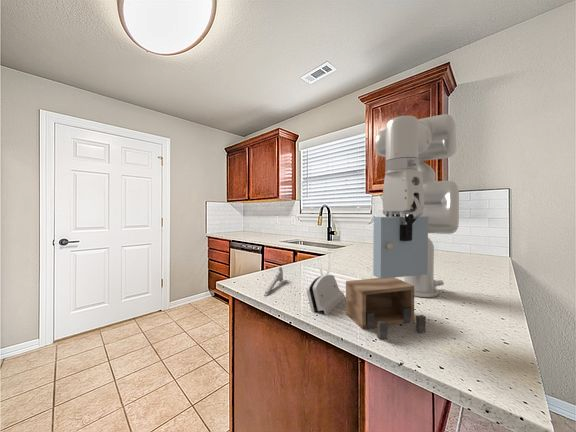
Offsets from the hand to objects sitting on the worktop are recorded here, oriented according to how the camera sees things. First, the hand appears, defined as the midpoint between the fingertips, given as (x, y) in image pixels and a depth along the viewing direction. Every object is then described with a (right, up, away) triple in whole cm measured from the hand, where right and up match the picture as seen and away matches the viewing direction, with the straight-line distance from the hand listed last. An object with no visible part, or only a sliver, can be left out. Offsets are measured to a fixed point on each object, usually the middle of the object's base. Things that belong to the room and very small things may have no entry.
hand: (400, 239), depth 61 cm
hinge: (-16, -23, +18) cm, 34 cm away
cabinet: (-2, -23, +5) cm, 24 cm away
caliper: (-34, -23, +35) cm, 54 cm away
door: (0, -9, 0) cm, 9 cm away
